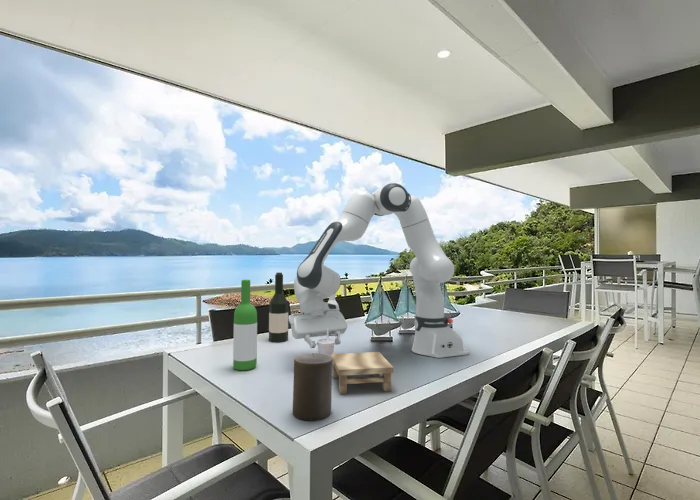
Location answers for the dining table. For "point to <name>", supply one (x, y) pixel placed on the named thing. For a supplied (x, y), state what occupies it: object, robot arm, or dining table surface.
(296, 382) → the pillar candle
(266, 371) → the dining table surface
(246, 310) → the wine bottle
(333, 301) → the bath foam
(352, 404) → the dining table surface
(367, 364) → the footstool
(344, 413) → the dining table surface
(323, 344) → the smoothie
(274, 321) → the wine bottle
